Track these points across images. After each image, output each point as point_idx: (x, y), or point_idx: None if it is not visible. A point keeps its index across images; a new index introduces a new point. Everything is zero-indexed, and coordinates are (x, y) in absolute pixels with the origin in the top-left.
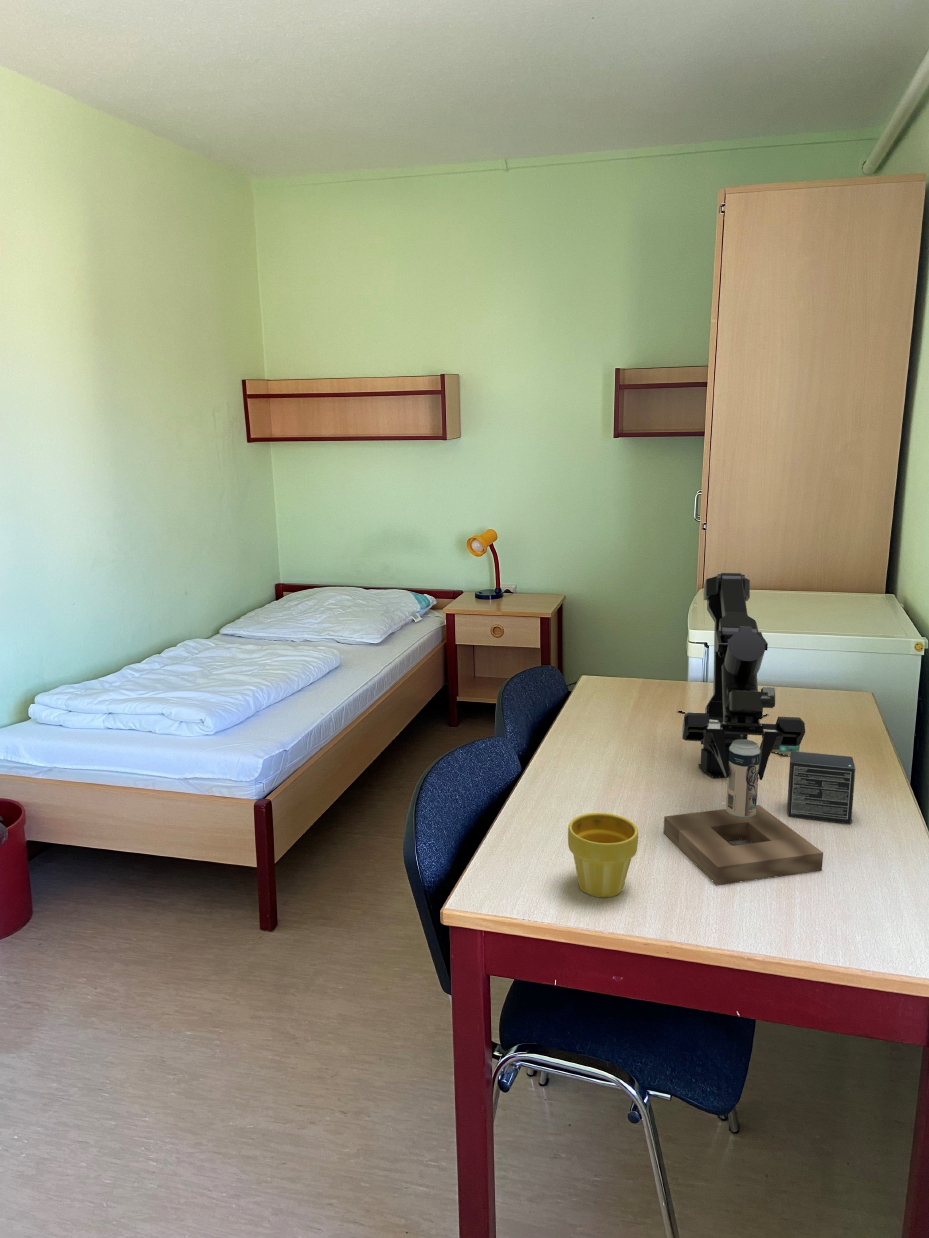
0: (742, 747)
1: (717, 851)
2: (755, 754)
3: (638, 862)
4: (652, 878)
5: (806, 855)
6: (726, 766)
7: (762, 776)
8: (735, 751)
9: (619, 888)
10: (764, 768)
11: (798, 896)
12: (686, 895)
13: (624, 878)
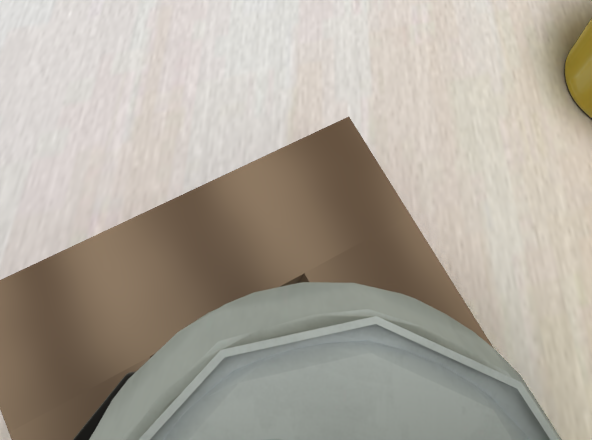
0: (403, 388)
1: (353, 220)
2: (169, 340)
3: (561, 225)
4: (506, 145)
5: (34, 266)
6: None
7: (129, 372)
8: (484, 345)
9: (576, 41)
10: (84, 432)
11: (116, 130)
12: (411, 81)
13: (584, 34)
